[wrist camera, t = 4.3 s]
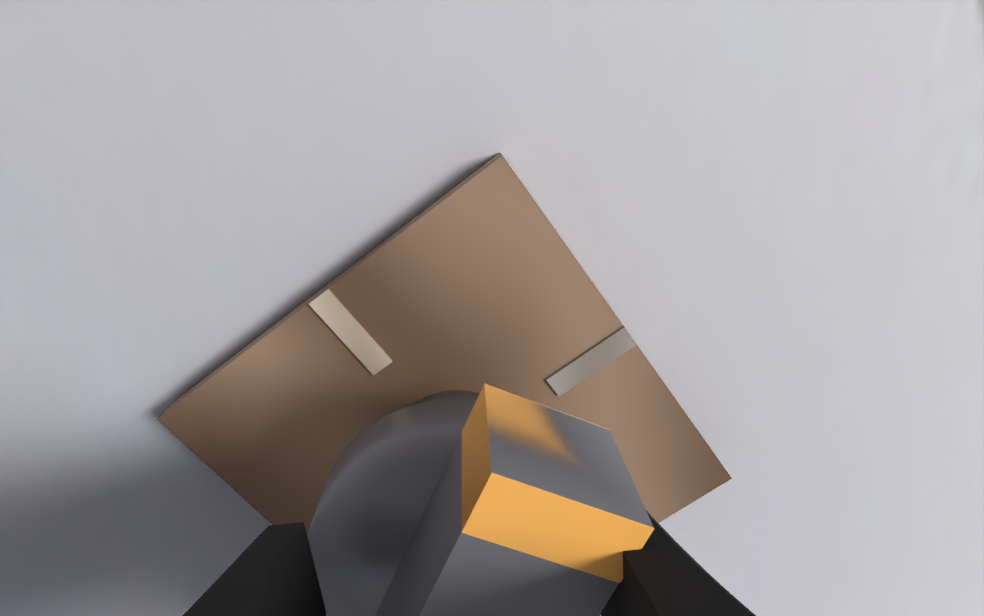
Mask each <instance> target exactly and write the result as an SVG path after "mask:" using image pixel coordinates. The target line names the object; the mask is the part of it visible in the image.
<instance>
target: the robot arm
mask: <svg viewBox="0 0 984 616" xmlns="http://www.w3.org/2000/svg"><path fill="white" fill-rule="evenodd" d="M646 511H647V510H646ZM647 514H648V516H649V518H650V520H651V522H652V525H653V527H654V530H653V532H652V533H651V535H650V537H649V538H648V540H647V541H646V543H645V545H644V546H643V548H642V549H637V550H628V551H623V580H622V581H621V583H619V584H618V586H617V588H616V589H615V591H614V592H613V594H612V596H611V597H610V599H609V600H608V602H607V604H606V605H605V607H604V608H603V610H602V612H601V616H756V615H754V614H753V613H752V612H751V611H750V610H749V609H748V608H746V607H745V606H744V605H743V604H742V603H741V602H740V601H738V600H737V599H736V598H735V597H734V596H733V595H731V594H730V593H729V592H728V591H727V590H726V589H725V588H724V587H723V586H721V585H720V584H719V583H718V582H717V581H716V580H715V579H714V578H713V577H712V576H711V575H710V574H709V573H707V572H706V571H705V570H704V569H703V568H702V567H701V566H700V565H699V564H698V563H697V562H696V561H695V560H694V559H693V558H692V557H691V556H690V555H689V554H688V553H687V552H686V551H685V550H684V549H683V548H682V547H681V546H680V545H679V544H678V543H677V542H676V541H675V540H674V539H673V538H672V537H671V536H670V535H669V534H668V533H667V532H666V531H665V530H664V529H663V528H662V527H661V526H660V524H659V523H658V522H657V521H656V520H655V519H654V518H653V517H652V516H651V515H650V514H649V513H648V511H647ZM183 616H326V609H325V605H324V601H323V597H322V593H321V589H320V585H319V581H318V577H317V573H316V569H315V565H314V561H313V557H312V553H311V548H310V544H309V540H308V536H307V532H306V528H305V524H304V522H298V523H289V524H280V525H271V526H268V527H267V528H266V529H265V530H264V531H263V532H262V533H261V534H260V535H259V536H258V537H257V538H256V540H255V541H254V542H253V543H252V544H251V545H250V546H249V547H248V548H247V549H246V550H245V551H244V552H243V553H242V554H241V555H240V556H239V557H238V558H237V560H236V561H235V562H234V563H233V564H232V565H231V566H230V567H229V568H228V569H227V570H226V571H225V572H224V573H223V574H222V575H221V577H220V578H219V579H218V580H217V581H216V582H215V583H214V584H213V585H212V586H211V587H210V588H209V589H208V590H207V591H206V592H205V593H204V594H203V595H202V596H201V597H200V598H199V599H198V600H197V601H196V602H195V603H194V605H193V606H192V607H191V608H190V609H189V610H188V611H187V612H186V613H185V614H184V615H183Z"/></svg>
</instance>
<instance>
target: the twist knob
mask: <svg viewBox="0 0 984 616" xmlns="http://www.w3.org/2000/svg"><path fill="white" fill-rule="evenodd" d="M653 530H654V527H653V525H652V522H651V520H650V518H649V516H648V514H647V511H646V509H645V507H644V505H643V503H642V500H641V498H640V496H639V494H638V491H637V489H636V487H635V485H634V483H633V480H632V478H631V476H630V474H629V472H628V469H627V467H626V465H625V463H624V461H623V458H622V456H621V454H620V452H619V449H618V447H617V445H616V443H615V441H614V438H613V436H612V434H611V432H610V430H609V429H606V428H604V427H601V426H598V425H596V424H593V423H590V422H588V421H585V420H582V419H579V418H577V417H574V416H571V415H569V414H566V413H563V412H561V411H558V410H555V409H552V408H550V407H547V406H544V405H542V404H539V403H536V402H533V401H531V400H528V399H525V398H523V397H520V396H517V395H515V394H512V393H509V392H506V391H504V390H501V389H498V388H496V387H493V386H490V385H488V384H485V383H484V386H483V388H482V390H481V392H480V394H479V396H478V398H477V400H475V399H441V400H433V401H428V402H423V403H418V404H415V405H412V406H408V407H405V408H402V409H400V410H397V411H395V412H393V413H391V414H388V415H386V416H384V417H383V418H381V419H379V420H378V421H376V422H374V423H373V424H371V425H369V426H368V427H367V428H366V429H365V430H363V431H362V432H361V433H360V434H358V435H357V436H356V437H355V438H354V439H353V440H352V441H351V442H350V443H349V444H348V445H347V447H346V448H345V449H344V450H343V452H342V453H341V454H340V456H339V457H338V459H337V460H336V462H335V464H334V466H333V468H332V470H331V472H330V474H329V476H328V478H327V481H326V484H325V487H324V489H323V492H322V495H321V498H320V500H319V503H318V506H317V509H316V512H315V514H314V517H313V520H312V523H311V525H310V528H309V531H308V534H307V536H308V540H309V544H310V548H311V553H312V557H313V561H314V565H315V569H316V573H317V577H318V581H319V585H320V589H321V593H322V597H323V601H324V605H325V609H326V616H600V615H601V612H602V610H603V608H604V607H605V605H606V604H607V602H608V600H609V599H610V597H611V596H612V594H613V592H614V591H615V589H616V588H617V586H618V584H619V583H621V581H622V580H623V551H628V550H637V549H642V548H643V546H644V545H645V543H646V541H647V540H648V538H649V537H650V535H651V533H652V532H653Z"/></svg>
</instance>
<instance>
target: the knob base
mask: <svg viewBox="0 0 984 616" xmlns="http://www.w3.org/2000/svg"><path fill="white" fill-rule="evenodd" d="M484 383H485V384H488V385H490V386H493V387H496V388H498V389H501V390H504V391H506V392H509V393H512V394H515V395H517V396H520V397H523V398H525V399H528V400H531V401H533V402H536V403H539V404H542V405H544V406H547V407H550V408H552V409H555V410H558V411H561V412H563V413H566V414H569V415H571V416H574V417H577V418H579V419H582V420H585V421H588V422H590V423H593V424H596V425H598V426H601V427H604V428H606V429H609V430H610V432H611V434H612V436H613V438H614V441H615V443H616V445H617V447H618V449H619V452H620V454H621V456H622V458H623V461H624V463H625V465H626V467H627V469H628V472H629V474H630V476H631V478H632V480H633V483H634V485H635V487H636V489H637V491H638V494H639V496H640V498H641V500H642V503H643V505H644V507H645V509H646V510H647V511H648V513H649V514H650V515H651V516H652V517H653V518H654V519H655V520H656V521H657V522H658V523H659V522H661V521H662V520H664V519H666V518H667V517H669V516H670V515H672V514H674V513H675V512H677V511H679V510H680V509H682V508H684V507H685V506H687V505H689V504H690V503H692V502H694V501H695V500H697V499H699V498H700V497H702V496H704V495H705V494H707V493H709V492H710V491H712V490H713V489H715V488H717V487H718V486H720V485H722V484H723V483H725V482H727V481H728V480H730V479H732V478H731V477H730V475H729V474H728V472H727V471H726V470H725V468H724V467H723V465H722V464H721V463H720V461H719V460H718V458H717V457H716V456H715V454H714V453H713V451H712V450H711V448H710V447H709V446H708V444H707V443H706V441H705V440H704V439H703V437H702V436H701V434H700V433H699V432H698V430H697V429H696V427H695V426H694V425H693V423H692V422H691V420H690V419H689V418H688V416H687V415H686V413H685V412H684V410H683V409H682V408H681V406H680V405H679V403H678V402H677V401H676V399H675V398H674V396H673V395H672V394H671V392H670V391H669V389H668V388H667V387H666V385H665V384H664V382H663V381H662V380H661V378H660V377H659V375H658V374H657V372H656V371H655V370H654V368H653V367H652V365H651V364H650V363H649V361H648V360H647V358H646V357H645V356H644V354H643V353H642V351H641V350H640V349H639V347H638V346H637V344H636V343H635V342H634V340H633V339H632V337H631V336H630V334H629V333H628V332H627V330H626V329H625V327H624V326H623V325H622V323H621V322H620V320H619V319H618V318H617V316H616V315H615V313H614V312H613V311H612V309H611V308H610V306H609V305H608V304H607V302H606V301H605V299H604V298H603V296H602V295H601V294H600V292H599V291H598V289H597V288H596V287H595V285H594V284H593V282H592V281H591V280H590V278H589V277H588V275H587V274H586V273H585V271H584V270H583V268H582V267H581V266H580V264H579V263H578V261H577V260H576V258H575V257H574V256H573V254H572V253H571V251H570V250H569V249H568V247H567V246H566V244H565V243H564V242H563V240H562V239H561V237H560V236H559V235H558V233H557V232H556V230H555V229H554V228H553V226H552V225H551V223H550V222H549V220H548V219H547V218H546V216H545V215H544V213H543V212H542V211H541V209H540V208H539V206H538V205H537V204H536V202H535V201H534V199H533V198H532V197H531V195H530V194H529V192H528V191H527V190H526V188H525V187H524V185H523V184H522V182H521V181H520V180H519V178H518V177H517V175H516V174H515V173H514V171H513V170H512V168H511V167H510V166H509V164H508V163H507V161H506V160H505V159H504V157H503V156H502V154H501V153H498V154H497V155H496V156H494V157H493V158H492V159H491V160H489V161H488V162H487V163H485V164H484V165H483V166H481V167H480V168H479V169H477V170H476V171H475V172H473V173H472V174H471V175H470V176H468V177H467V178H466V179H464V180H463V181H462V182H460V183H459V184H458V185H456V186H455V187H454V188H453V189H451V190H450V191H449V192H447V193H446V194H445V195H443V196H442V197H441V198H439V199H438V200H437V201H436V202H434V203H433V204H432V205H430V206H429V207H428V208H426V209H425V210H424V211H422V212H421V213H420V214H419V215H417V216H416V217H415V218H413V219H412V220H411V221H409V222H408V223H407V224H405V225H404V226H403V227H401V228H400V229H399V230H398V231H396V232H395V233H394V234H392V235H391V236H390V237H388V238H387V239H386V240H384V241H383V242H382V243H381V244H379V245H378V246H377V247H375V248H374V249H373V250H371V251H370V252H369V253H367V254H366V255H365V256H364V257H362V258H361V259H360V260H358V261H357V262H356V263H354V264H353V265H352V266H350V267H349V268H348V269H347V270H345V271H344V272H343V273H341V274H340V275H339V276H337V277H336V278H335V279H333V280H332V281H331V282H330V283H328V284H327V285H326V286H324V287H323V288H322V289H320V290H319V291H318V292H316V293H315V294H314V295H312V296H311V297H310V298H309V299H307V300H306V301H305V302H303V303H302V304H301V305H299V306H298V307H297V308H295V309H294V310H293V311H292V312H290V313H289V314H288V315H286V316H285V317H284V318H282V319H281V320H280V321H278V322H277V323H276V324H275V325H273V326H272V327H271V328H269V329H268V330H267V331H265V332H264V333H263V334H261V335H260V336H259V337H258V338H256V339H255V340H254V341H252V342H251V343H250V344H248V345H247V346H246V347H244V348H243V349H242V350H240V351H239V352H238V353H237V354H235V355H234V356H233V357H231V358H230V359H229V360H227V361H226V362H225V363H223V364H222V365H221V366H220V367H218V368H217V369H216V370H214V371H213V372H212V373H210V374H209V375H208V376H206V377H205V378H204V379H203V380H201V381H200V382H199V383H197V384H196V385H195V386H193V387H192V388H191V389H189V390H188V391H187V392H186V393H184V394H183V395H182V396H180V397H179V398H178V399H176V400H175V401H174V402H173V403H172V404H171V405H170V406H169V407H168V408H167V409H166V410H165V411H164V412H163V413H162V414H161V415H160V417H159V418H158V419H157V420H159V421H160V422H161V423H162V424H163V425H164V426H165V427H166V428H167V429H168V430H169V431H171V432H172V433H173V434H174V435H175V436H176V437H177V438H178V439H179V440H180V441H182V442H183V443H184V444H185V445H186V446H187V447H188V448H189V449H190V450H191V451H193V452H194V453H195V454H196V455H197V456H198V457H199V458H200V459H201V460H202V461H203V462H205V463H206V464H207V465H208V466H209V467H210V468H211V469H212V470H213V471H214V472H216V473H217V474H218V475H219V476H220V477H221V478H222V479H223V480H224V481H225V482H227V483H228V484H229V485H230V486H231V487H232V488H233V489H234V490H235V491H236V492H237V493H239V494H240V495H241V496H242V497H243V498H244V499H245V500H246V501H247V502H248V503H250V504H251V505H252V506H253V507H254V508H255V509H256V510H257V511H258V512H259V513H261V514H262V515H263V516H264V517H265V518H266V519H267V520H268V521H269V522H270V523H271V524H273V525H280V524H289V523H298V522H304V524H305V528H306V532H307V534H308V531H309V528H310V525H311V523H312V520H313V517H314V514H315V512H316V509H317V506H318V503H319V500H320V498H321V495H322V492H323V489H324V487H325V484H326V481H327V478H328V476H329V474H330V472H331V470H332V468H333V466H334V464H335V462H336V460H337V459H338V457H339V456H340V454H341V453H342V452H343V450H344V449H345V448H346V447H347V445H348V444H349V443H350V442H351V441H352V440H353V439H354V438H355V437H356V436H357V435H358V434H360V433H361V432H362V431H363V430H365V429H366V428H367V427H368V426H369V425H371V424H373V423H374V422H376V421H378V420H379V419H381V418H383V417H384V416H386V415H388V414H391V413H393V412H395V411H397V410H400V409H402V408H405V407H408V406H412V405H415V404H418V403H423V402H428V401H433V400H441V399H475V400H477V398H478V396H479V394H480V392H481V390H482V388H483V386H484Z"/></svg>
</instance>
